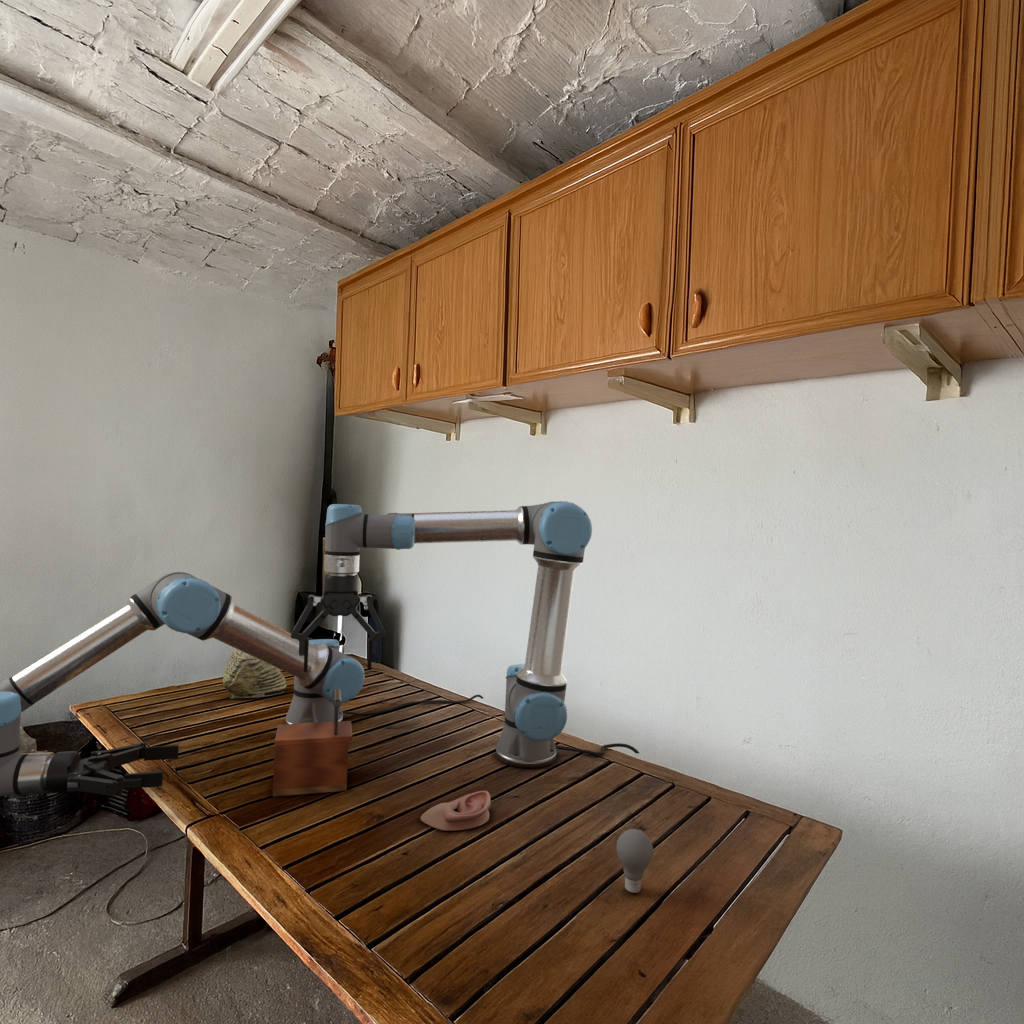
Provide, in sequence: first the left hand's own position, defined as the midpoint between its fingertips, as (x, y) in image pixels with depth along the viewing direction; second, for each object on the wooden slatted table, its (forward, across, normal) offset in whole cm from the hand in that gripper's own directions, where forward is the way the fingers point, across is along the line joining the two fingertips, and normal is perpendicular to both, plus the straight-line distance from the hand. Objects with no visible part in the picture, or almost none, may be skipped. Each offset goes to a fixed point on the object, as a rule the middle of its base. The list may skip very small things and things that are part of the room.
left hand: (170, 764), depth 132 cm
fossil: (+9, -66, -6) cm, 67 cm away
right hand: (+33, 0, +19) cm, 38 cm away
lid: (+28, 0, +4) cm, 29 cm away
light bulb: (+81, +50, -6) cm, 95 cm away
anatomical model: (+56, +21, -6) cm, 61 cm away
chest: (+28, 0, -6) cm, 29 cm away
